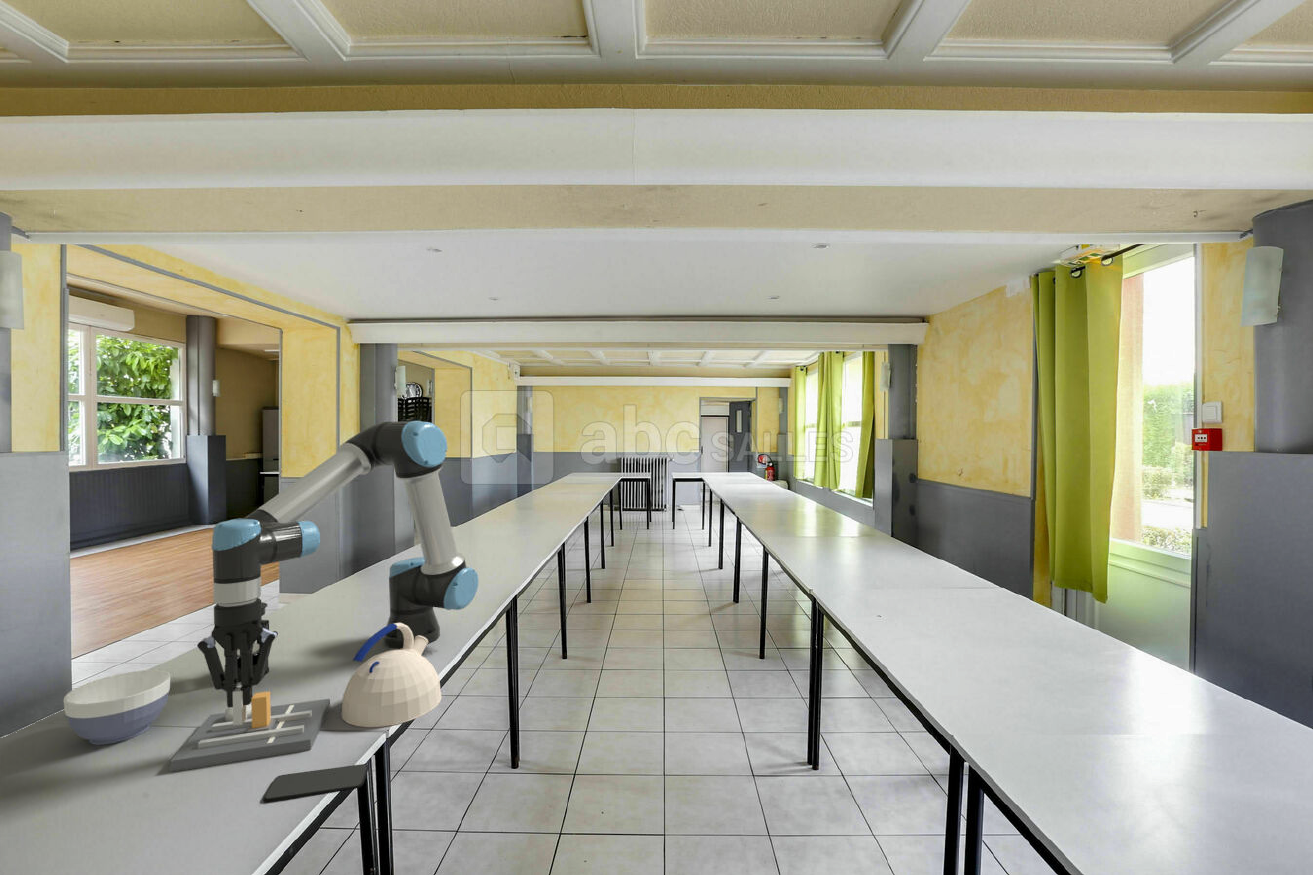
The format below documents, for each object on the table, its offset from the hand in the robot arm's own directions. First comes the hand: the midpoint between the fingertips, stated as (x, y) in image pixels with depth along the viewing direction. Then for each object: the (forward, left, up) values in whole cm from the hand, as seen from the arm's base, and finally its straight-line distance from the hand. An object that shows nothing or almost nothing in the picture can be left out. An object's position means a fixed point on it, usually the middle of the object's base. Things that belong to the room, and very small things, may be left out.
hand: (240, 721), depth 115 cm
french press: (+10, -38, -5) cm, 39 cm away
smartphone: (-17, +20, -5) cm, 26 cm away
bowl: (+25, -13, -5) cm, 28 cm away
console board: (-2, -2, -4) cm, 5 cm away
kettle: (-26, -8, -5) cm, 28 cm away
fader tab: (-4, 0, -2) cm, 4 cm away
